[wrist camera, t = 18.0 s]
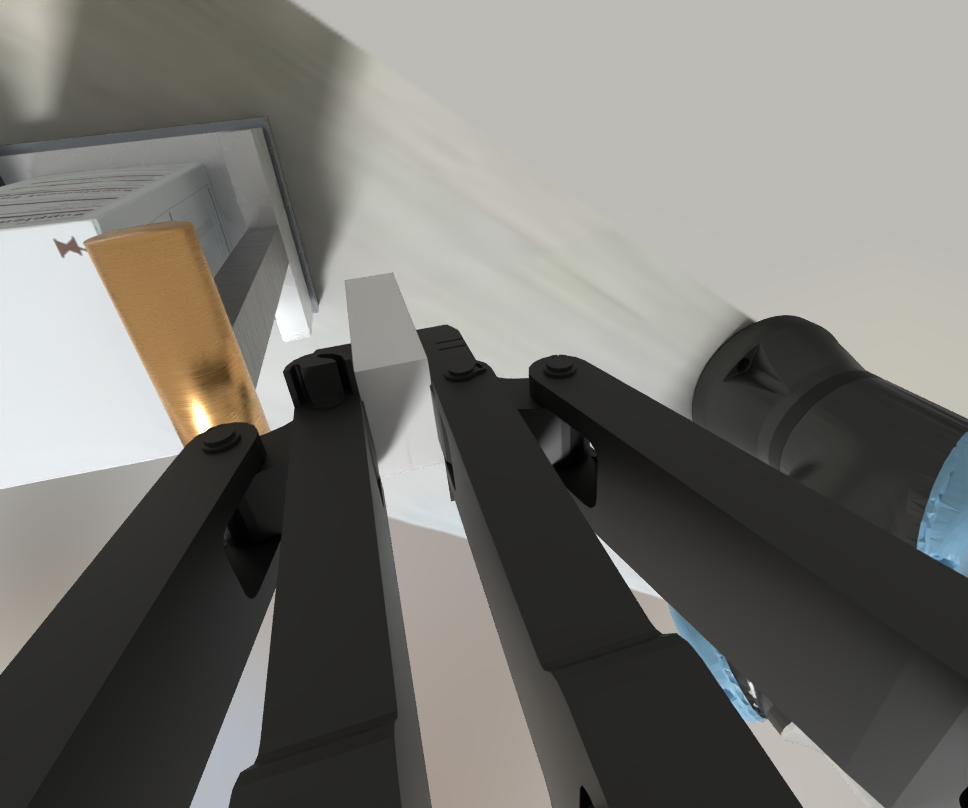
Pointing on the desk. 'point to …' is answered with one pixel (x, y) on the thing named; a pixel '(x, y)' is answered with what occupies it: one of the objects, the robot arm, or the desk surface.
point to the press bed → (154, 149)
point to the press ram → (210, 298)
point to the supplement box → (83, 320)
